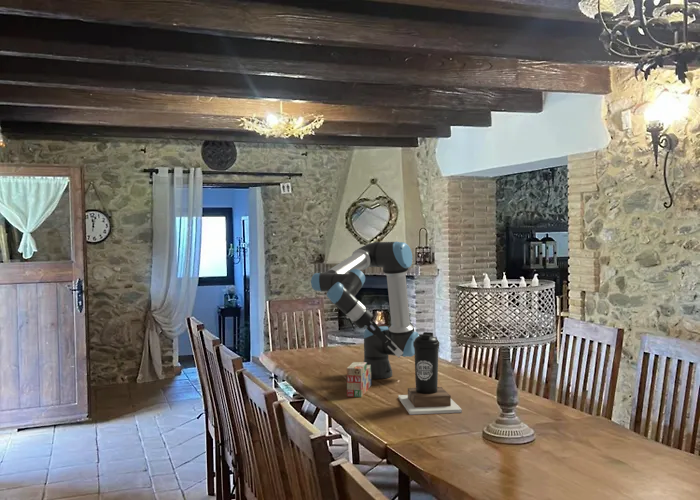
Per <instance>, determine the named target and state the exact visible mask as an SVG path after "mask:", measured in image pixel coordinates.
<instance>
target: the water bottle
mask: <svg viewBox="0 0 700 500" xmlns="http://www.w3.org/2000/svg"><path fill="white" fill-rule="evenodd" d="M418 334H419V333H418ZM413 346H414V352H415V355H414V372H415V373H414V375H415V377H414V378H415V379H414V380H415V388H416V392H417V393H421V394H434V393H437V387H438V384H439V383H438V380H439V379H438V378H439V377H438V375H439V373H438V372H439V348H440V341H439V339H438V338H437V337H435V336H434V333H433V332H430V331H429V332H428V331H427V332H426V331H424V332H422V334H421V333H420V334H419V336H418V337H417V338H416V339H415V341H414V342H413Z"/></svg>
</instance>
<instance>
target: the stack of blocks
mask: <svg viewBox="0 0 700 500" xmlns="http://www.w3.org/2000/svg"><path fill="white" fill-rule="evenodd" d="M371 386H372V379H371V365H367V362H364V361H352V363H351V364H350V365H348V366H347V367H346V396H347V397H348V398H349V397H352V398H353V397H354V398H355V397H356V398H362V397H363V396H364V394H366V393H367V391H368V390H369V388H370V387H371Z"/></svg>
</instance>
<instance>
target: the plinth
mask: <svg viewBox="0 0 700 500" xmlns="http://www.w3.org/2000/svg"><path fill="white" fill-rule="evenodd" d="M407 395H408V399H409V400H410V402H411V403H412V404H413V406H414V407H441V406H451V399H452V398H451V394H449V392H447V391H446V390H445V388H444V387H442V386H437V393H434V394H421V393H417V392H416V387H409V388H407Z"/></svg>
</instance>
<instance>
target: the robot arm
mask: <svg viewBox="0 0 700 500" xmlns="http://www.w3.org/2000/svg"><path fill="white" fill-rule="evenodd" d="M412 264H413V253H412V249H411V247H410V246H409V245H408V243H406V242H404V241H403V242H402V241H374V242H371V243H368V244H365V245H362V246H361V247H359V248H357V249H355V250H354V251H353V252H352V254H351V255H350V256H348V257H347V258H346V259H344V260H342V261H341V262H340V263H338V264H335V266H332V267H331V268H330V269H328V270H326V271H325V272H315V273H314V274H313V275H312V276H311V279H310V284H311V288H312V289H313V290H314V291H315V292H321V293H323V292H326V297H327V298H328V299H329V300H330V301H331V303H332V304H334V305H335V306H336V307H337V308H338V309H339V310H340V311H341V312H342V313H343V314H344V315H346V319H350V320H351V321H352V322H353V324H355V326H356V327H358V328H359V329H363V328H364V327H365V326H366V329H365V330H364V332H363V355H364V356H363V358H364V359H363V362H367V365H371V380H375V379H376V380H379V379H380V380H381V379H389V378H391V377H393V368H392V366H391V363H390V358H389V356H396V357H397V358H399V359H400V357H404V358H406V357H409V358H411V357H413V356H415V352H414V346H413V342H414V341H415V339H416V338H417V337H418V336H419V332H417V331H415V328H414V325H412V324H411V320H410V311H409V299H408V289H407V278H406V277H407V276H406V274H407V273H408V272H409V268H410V267H412ZM368 268H382V273H383V274H384V275H385V276H386V281H387V282H386V283H387V292H388V301H389V303H388V304H389V313H390V323H391V325H390V326H387V325H386V326H385V325H384V326H381V325H380V326H378V324H377V323H375V321H374V320H373V321H371V320H372V319H373V317H374V316H373V315H374V314H373V313H372V312H371V311H370V310H369V309H368V308H366V306H365V304H363V303H362V302H361V301H360V300H359V299H357V297H356V295H358V293H359V291H360V290H361V289H362V288H363V286H364V283H365V282H366V275H365V274H364V273H363V271H364V270H366V269H368Z"/></svg>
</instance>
